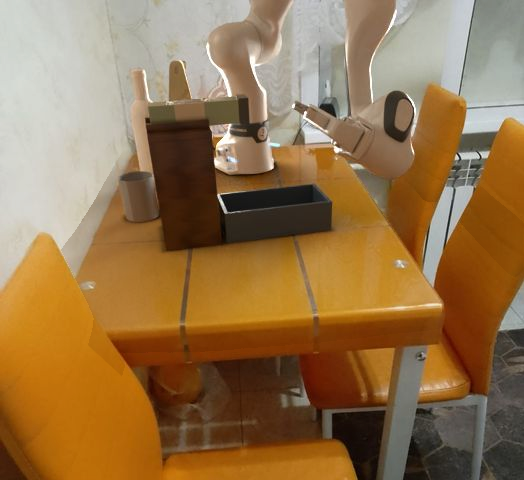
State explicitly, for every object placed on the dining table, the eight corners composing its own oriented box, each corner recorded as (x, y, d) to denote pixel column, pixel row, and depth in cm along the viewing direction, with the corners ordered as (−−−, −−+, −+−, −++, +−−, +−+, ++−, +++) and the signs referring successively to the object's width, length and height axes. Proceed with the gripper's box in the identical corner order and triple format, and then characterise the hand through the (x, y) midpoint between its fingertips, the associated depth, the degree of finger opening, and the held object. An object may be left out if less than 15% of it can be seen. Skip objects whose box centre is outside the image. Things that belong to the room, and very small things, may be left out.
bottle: (141, 182, 148) (120, 69, 130) (167, 179, 150) (150, 67, 132) (144, 190, 142) (123, 72, 124) (171, 187, 144) (154, 70, 126)
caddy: (186, 143, 184) (175, 50, 166) (214, 143, 184) (206, 49, 166) (172, 166, 161) (157, 61, 143) (204, 165, 160) (193, 59, 142)
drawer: (245, 118, 105) (244, 94, 102) (249, 123, 101) (248, 97, 98) (151, 126, 102) (147, 101, 99) (151, 132, 98) (147, 105, 95)
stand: (213, 221, 121) (202, 109, 106) (222, 244, 110) (211, 122, 95) (162, 227, 119) (144, 114, 104) (166, 250, 108) (145, 128, 93)
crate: (313, 210, 125) (314, 183, 121) (331, 230, 114) (332, 201, 110) (218, 221, 121) (216, 193, 117) (227, 243, 110) (224, 213, 106)
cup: (147, 207, 131) (140, 169, 125) (165, 214, 126) (159, 175, 120) (120, 216, 126) (111, 177, 120) (137, 224, 121) (129, 184, 115)
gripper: (342, 114, 116) (294, 86, 110) (377, 133, 100) (322, 100, 94) (329, 140, 119) (280, 113, 113) (360, 162, 103) (306, 132, 97)
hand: (299, 108), depth 103 cm, fingers open, 8 cm apart
